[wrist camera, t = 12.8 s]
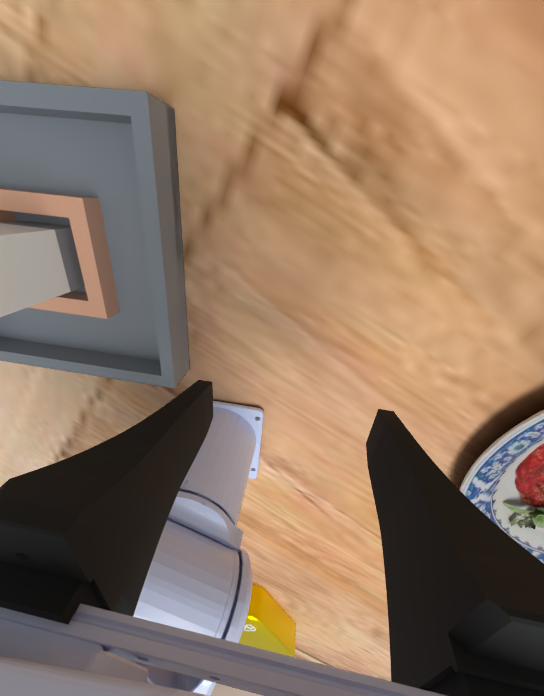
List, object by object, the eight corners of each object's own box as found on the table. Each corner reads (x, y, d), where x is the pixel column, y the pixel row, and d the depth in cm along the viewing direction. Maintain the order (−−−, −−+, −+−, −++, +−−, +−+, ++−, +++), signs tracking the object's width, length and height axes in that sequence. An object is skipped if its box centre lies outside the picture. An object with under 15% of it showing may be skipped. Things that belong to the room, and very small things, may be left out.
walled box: (189, 368, 25) (174, 388, 22) (5, 340, 26) (-30, 355, 23) (174, 109, 16) (146, 91, 14) (-99, 87, 18) (-172, 67, 15)
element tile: (227, 626, 52) (219, 664, 48) (181, 585, 46) (168, 624, 42) (300, 624, 47) (299, 665, 43) (259, 578, 42) (253, 621, 38)
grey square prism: (90, 284, 21) (-21, 325, 14) (42, 277, 21) (-92, 314, 14) (78, 227, 19) (-58, 241, 12) (25, 220, 19) (-139, 231, 12)
